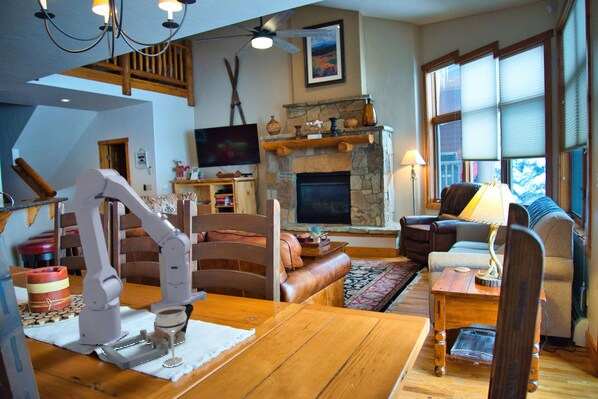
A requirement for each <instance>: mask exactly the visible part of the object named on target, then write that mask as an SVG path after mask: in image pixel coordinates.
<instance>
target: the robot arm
mask: <svg viewBox="0 0 598 399" xmlns="http://www.w3.org/2000/svg"><path fill="white" fill-rule="evenodd" d="M75 183H76V189H75V192H74V195H73V196H74V197H73V200H72V206H73V210H74V215H75V221H76V224H77V225H76V226H77V230H78V233H79V234H78V235H79V239H80V245H81V248H82V253H83V257H84V258H83V259H84V263H85V267H86V273H85V276H84V277H83V281H82V286H83V288H82V289H83V290H82V293H81V300H82V303H83V304H84V306H83V307H82V308H81V309H80V311H79V314H78V321H77V322H78V331H79V332H78V333H79V340H77V344H78V345H95V346H101V345H100V344H107V343H108V344H111V343H113V342H115V341H116V342H117V340H118V339H119V340H121V339H123V338H124V337H126V336H127V335H128V334H130V332H129V331H128V330H127V331H125V330H124V331H123V330H122V321H121V308H120V306H121V305H120V295H121V294H122V292H123V290H124V286H123V285H124V284H123V282H122V280H121V279H120V278H119V276H118V273H117V270H116V269H115V268H113V267H112V265H111V263H110V262H111V261H110V259H109V254H108V249H107V243H106V239H105V234H104V229H103V224H102V219H101V214H100V210H99V206H100V205H101V204H102V203H103V201H104V200H105V199H106V198H111V199H117V200H119V201H120V202H121V203H122V205H124V206H125V207H127V209H129V210H130V212H132V213H133V214H134V215H135V216H137V218H139V219H140V220H141V229H142V230H143V231H144V232H146V233H147V235H148V236H149V237H150V238H151V239H153V240H154V242H155V243H156V244H157V245H160V246H161V247H163V248H161V252H162V254H163V256H164V257H165V258H166V272H167V289H168V299H165V300H163V301H162V300H161V301H159V302H155V303H152V304H150V309H151V311H150V312H151V313H152V314H154V315H156V314H155V311H156V310H157V309H159V308H161V307H165V306H170V305H182V306H185V307H186V309H185V313H186V316H187V320H186V323H185V325H184V326H183V328H182V329H181V331H183V332H184V333H185V335H186V334H187V328H188V324H189V320H190V318H191V315H192V313H193V311H194V305H193V304H192V303H196V302H198V301H206V300H207V292H205V291H203V290H202V291H198V292H192V287H191V286H192V285H191V267H190V258H189V255H190V253H189V252H190V250H191V248H192V242H191V239H190V238H189V236H188V234H186V233H183V232H181V230H180V229H179V228H176V227H175V226H173V224H172V223H171V222H170V221H169V220H168V218H169V217H168V216H167V214H165V213H163V214H162V213H161V212H159V211H152V209H151V208H150V207H149V206H148V205H147V204H146V202H144V200H143V199H142V198H141V197H140V196H139V195H138V193H137V192H136V191H135V190H134V189H133V187H132V186H130V184H129V182H128V181H127V180H126V178H124V177H123V176H122V175H120V173H119V172H118V171H117V170H116V169H113V168H87V169H85V170H84V171H82V172H81V174H80V175H78V177H77V178H76V179H75ZM125 335H126V336H125ZM123 336H124V337H123ZM120 338H121V339H120ZM119 340H118V341H119ZM96 344H98V345H96Z"/></svg>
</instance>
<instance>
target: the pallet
mask: <svg viewBox="0 0 598 399" xmlns="http://www.w3.org/2000/svg"><path fill="white" fill-rule="evenodd" d="M145 336H146V341H145V343H146V342H147V343H150V342H151V344H150V346H153V347H154V346H156V347H154V348H155V349H157V348H160V347H161V343H162V342H168V347H169V348H171V347H170V346H171V339H170V335H169V336H166V337H163V338H162V337H160V336H158V335H156V334H155V332H154V331H150V332H147V334H145ZM183 341H185V342H186V334H185V333H184V332H183V331H181V330H179V331H178V332H177V333H175V335H174V344H177V343H180V342H183ZM183 343H184V342H183ZM180 344H181V343H180ZM153 347H152V348H153Z"/></svg>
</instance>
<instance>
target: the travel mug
mask: <svg viewBox="0 0 598 399" xmlns="http://www.w3.org/2000/svg"><path fill="white" fill-rule="evenodd" d="M157 245H158V244H157ZM157 247H158V264H159V265H158V266H159V281H160V296H161V301H163V300H165V299H168V289H167V272H166V258H165V257H164V256H163V254H162V252H161V248H163V247H161V246H160V245H158V246H157Z"/></svg>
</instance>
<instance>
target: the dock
mask: <svg viewBox="0 0 598 399" xmlns="http://www.w3.org/2000/svg"><path fill="white" fill-rule="evenodd" d="M147 333H148V332H147V329H141V330H139V334H137V335H134V336H131V337H127V338H123V339H120V340H118V341H116V342H114V343H111V344H108V345H100V346H101V347H100V348H101V349H102V350H103V351H104V353H105V354H106V355H107V356H108V357H107V359H109V360H110V361H111V362H112V363H114V364H115V365H116V366H118V368H119V369H120V370H122V371H124V370H127V369H129V368H133V367H135V366H134V365H136V366H138V365H137V364H139V363H141V362H144V361H147V360H150V359H152V360H154V359H153V358H155V359H157V358H156V357H158V356H161V355H163V356H165V355H164V354H166V355H168V354H169V348H168V342H162V343H161V347H160V348H157V349H156V348H154V349H152V350H149V351H145V352H143V353H139V354H137V355H134V356H131V357H128V358H126V357H125V356H123V355H122V354H121V353H120V352H118V350H114V349H115V348H120V347H124V346H127V345H130V344H133V343H136V342H139V341H142V340H146V336H145V334H147ZM102 350H101V351H102ZM167 353H168V354H167ZM161 357H162V356H161ZM158 358H159V357H158ZM150 361H151V360H150ZM147 362H148V361H147ZM144 363H145V362H144ZM141 364H142V363H141ZM139 365H140V364H139Z"/></svg>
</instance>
